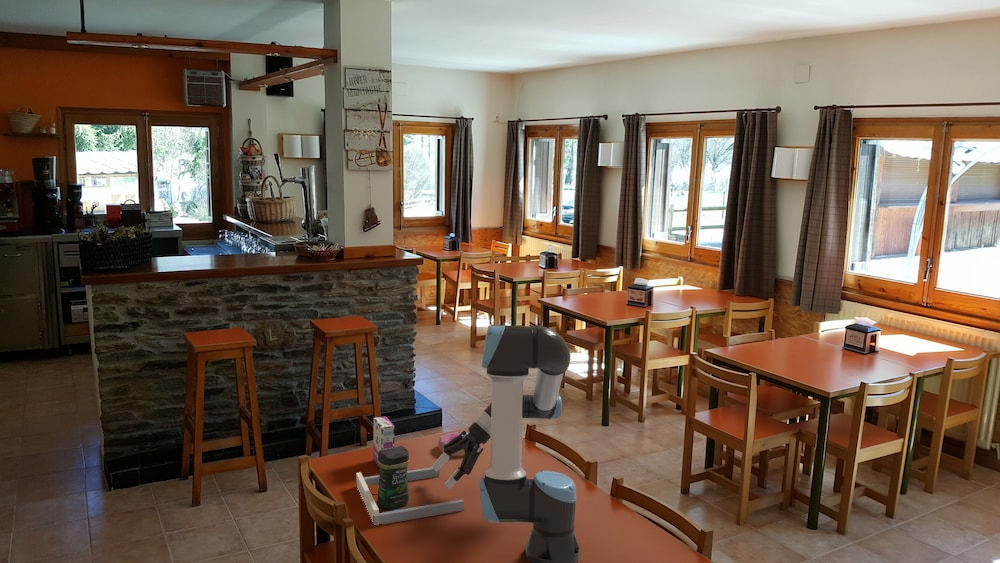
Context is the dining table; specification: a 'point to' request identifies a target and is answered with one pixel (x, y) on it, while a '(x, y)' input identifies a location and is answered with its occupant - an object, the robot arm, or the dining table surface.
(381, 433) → the candy bar box
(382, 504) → the coffee jar
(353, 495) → the dining table surface
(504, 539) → the dining table surface
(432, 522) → the dining table surface
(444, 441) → the donut
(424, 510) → the channel
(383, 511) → the trap pads
